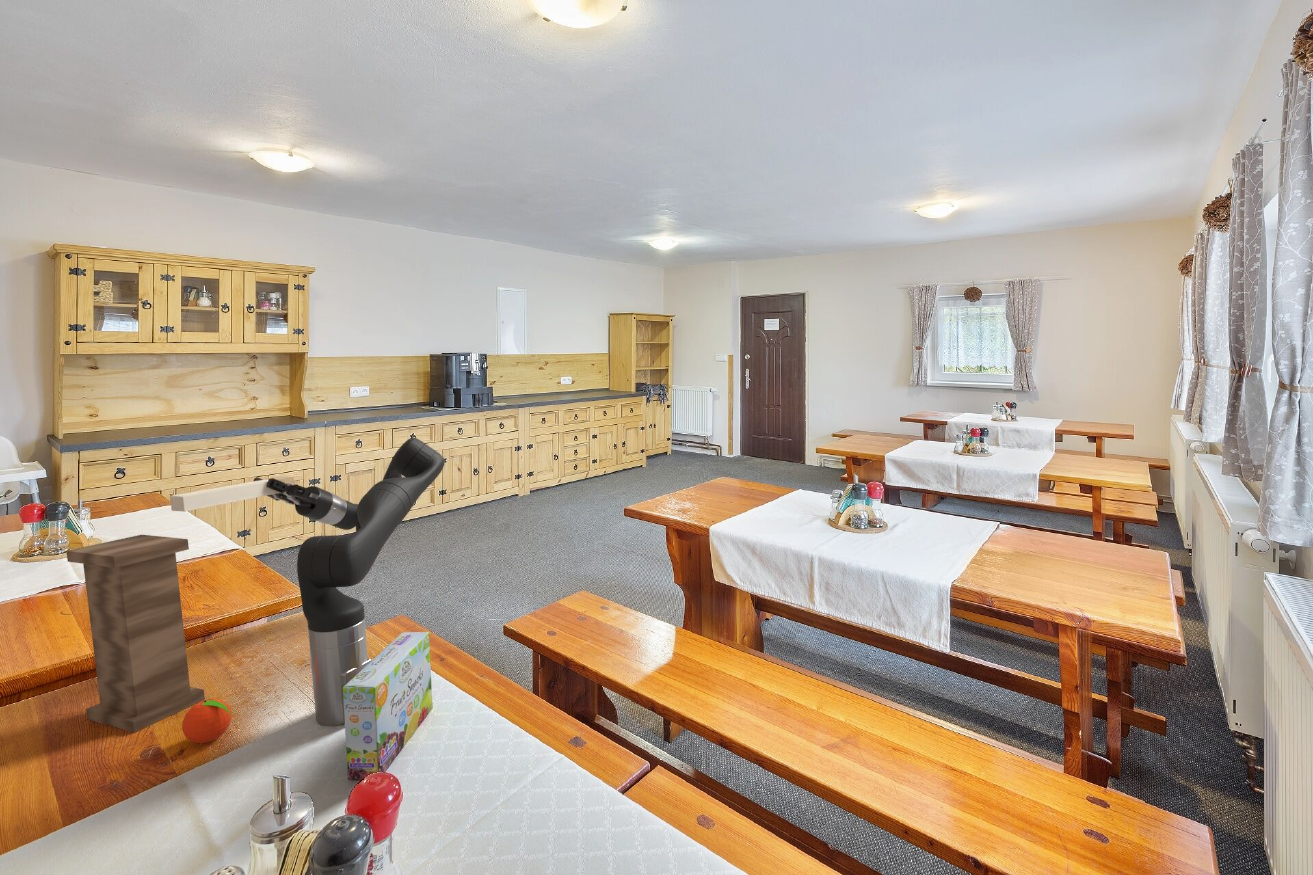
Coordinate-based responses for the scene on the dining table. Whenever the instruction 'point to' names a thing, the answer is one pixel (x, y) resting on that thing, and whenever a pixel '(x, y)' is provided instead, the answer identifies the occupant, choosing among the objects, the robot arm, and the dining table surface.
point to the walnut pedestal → (136, 630)
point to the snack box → (387, 704)
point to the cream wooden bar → (224, 494)
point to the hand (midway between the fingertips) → (261, 482)
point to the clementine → (206, 721)
